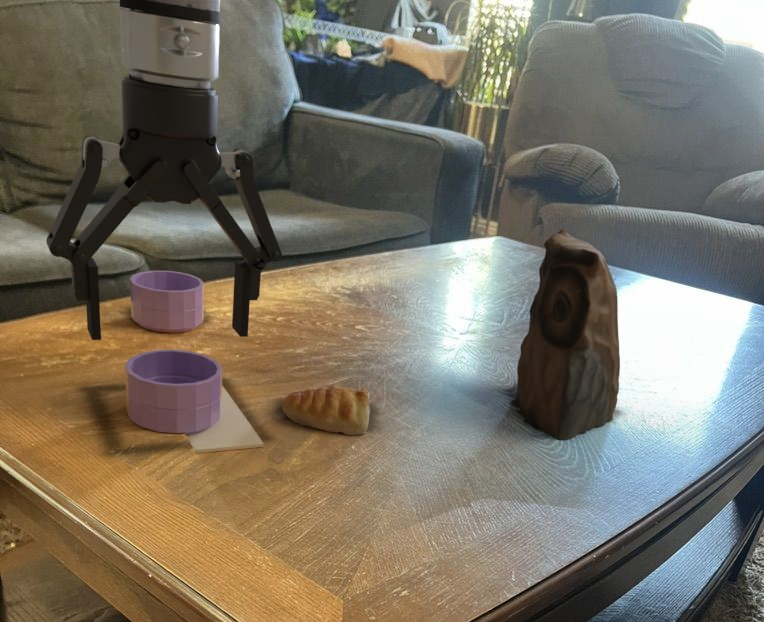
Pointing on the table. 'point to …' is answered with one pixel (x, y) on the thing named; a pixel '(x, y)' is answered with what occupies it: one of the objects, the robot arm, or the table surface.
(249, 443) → the place mat
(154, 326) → the far dish
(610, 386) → the owl
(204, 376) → the near dish
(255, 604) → the table surface
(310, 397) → the pastry
